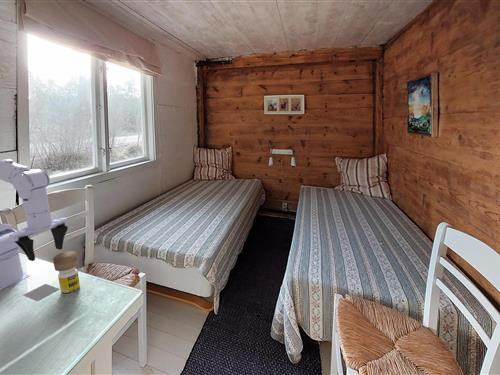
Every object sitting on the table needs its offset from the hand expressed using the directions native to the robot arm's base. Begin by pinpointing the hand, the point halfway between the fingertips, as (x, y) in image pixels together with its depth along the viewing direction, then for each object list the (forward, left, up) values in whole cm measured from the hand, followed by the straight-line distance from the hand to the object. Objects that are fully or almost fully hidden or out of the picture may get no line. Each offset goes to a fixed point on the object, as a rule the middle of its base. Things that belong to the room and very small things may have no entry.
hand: (46, 254), depth 80 cm
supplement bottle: (+9, 0, -11) cm, 14 cm away
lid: (+9, 0, -2) cm, 9 cm away
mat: (+2, -4, -10) cm, 11 cm away
